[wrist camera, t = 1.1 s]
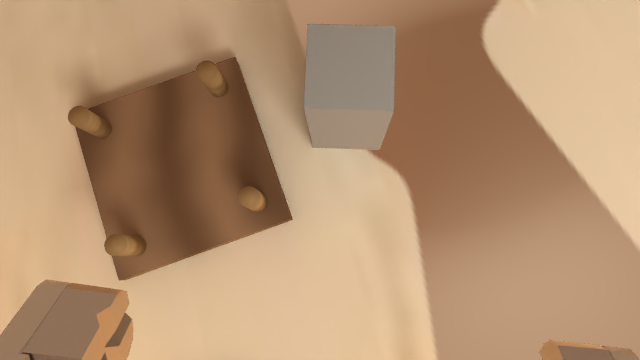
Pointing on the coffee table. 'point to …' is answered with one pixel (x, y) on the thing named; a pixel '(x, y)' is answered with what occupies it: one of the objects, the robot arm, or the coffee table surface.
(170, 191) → the stand
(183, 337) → the coffee table surface
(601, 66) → the coffee table surface
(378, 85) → the slate block
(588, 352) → the robot arm
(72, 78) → the coffee table surface
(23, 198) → the coffee table surface
